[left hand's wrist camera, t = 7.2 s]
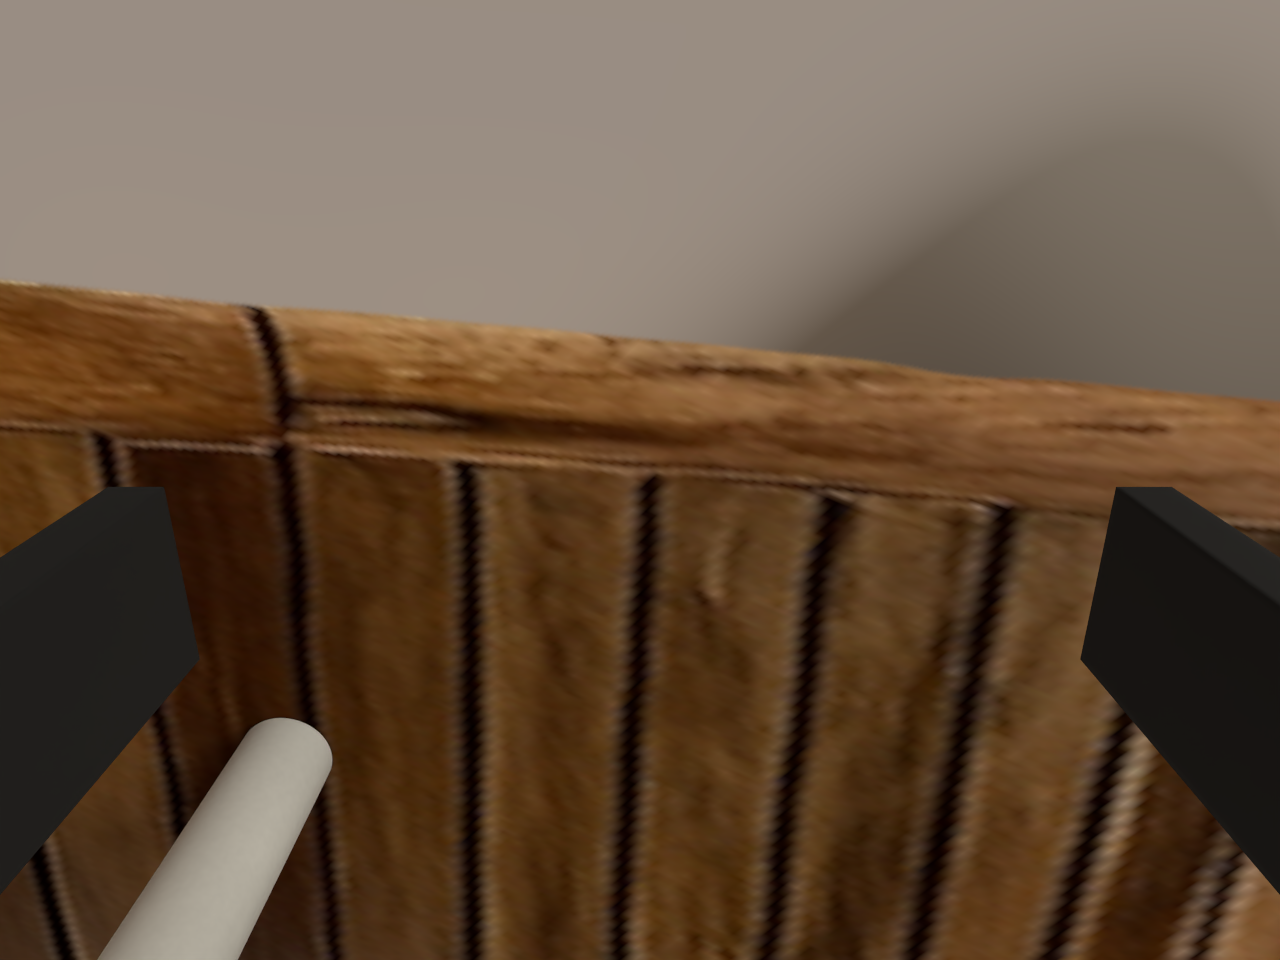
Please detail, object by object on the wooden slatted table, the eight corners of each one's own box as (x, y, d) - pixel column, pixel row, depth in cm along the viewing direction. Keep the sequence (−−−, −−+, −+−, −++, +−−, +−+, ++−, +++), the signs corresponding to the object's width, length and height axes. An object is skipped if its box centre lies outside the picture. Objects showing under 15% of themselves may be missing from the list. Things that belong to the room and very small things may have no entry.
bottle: (346, 780, 48) (133, 1244, 28) (263, 798, 49) (-5, 1268, 28) (312, 708, 47) (60, 1147, 26) (227, 728, 47) (-85, 1173, 27)
